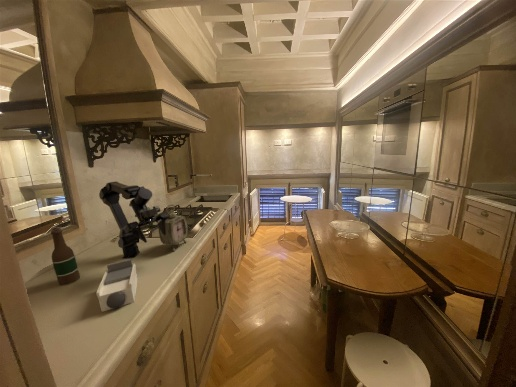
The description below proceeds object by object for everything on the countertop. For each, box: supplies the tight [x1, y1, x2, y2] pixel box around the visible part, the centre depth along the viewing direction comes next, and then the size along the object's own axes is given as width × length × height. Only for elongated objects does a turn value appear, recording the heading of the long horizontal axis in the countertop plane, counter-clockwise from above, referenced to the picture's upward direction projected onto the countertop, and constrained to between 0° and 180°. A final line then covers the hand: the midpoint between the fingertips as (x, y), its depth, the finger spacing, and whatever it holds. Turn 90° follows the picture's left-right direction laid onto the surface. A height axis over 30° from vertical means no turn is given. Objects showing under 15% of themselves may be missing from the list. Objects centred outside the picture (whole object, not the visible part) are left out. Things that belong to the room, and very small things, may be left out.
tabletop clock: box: [157, 204, 189, 252], centre depth 120 cm, size 14×9×25 cm, turn 164°
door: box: [105, 258, 133, 285], centre depth 85 cm, size 9×8×4 cm
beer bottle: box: [50, 228, 81, 286], centre depth 93 cm, size 8×8×24 cm
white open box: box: [95, 263, 138, 312], centre depth 82 cm, size 17×10×8 cm, turn 25°
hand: (156, 238), depth 97 cm, fingers open, 9 cm apart
